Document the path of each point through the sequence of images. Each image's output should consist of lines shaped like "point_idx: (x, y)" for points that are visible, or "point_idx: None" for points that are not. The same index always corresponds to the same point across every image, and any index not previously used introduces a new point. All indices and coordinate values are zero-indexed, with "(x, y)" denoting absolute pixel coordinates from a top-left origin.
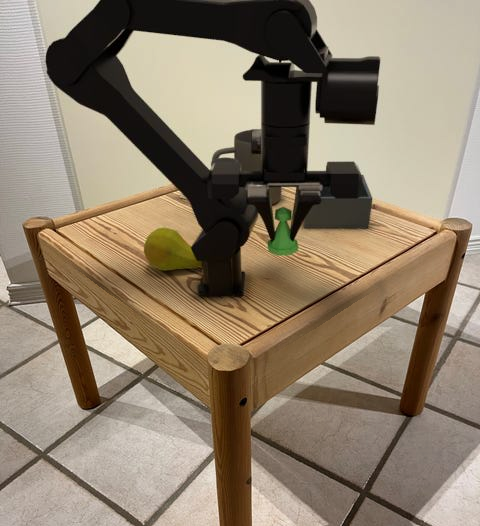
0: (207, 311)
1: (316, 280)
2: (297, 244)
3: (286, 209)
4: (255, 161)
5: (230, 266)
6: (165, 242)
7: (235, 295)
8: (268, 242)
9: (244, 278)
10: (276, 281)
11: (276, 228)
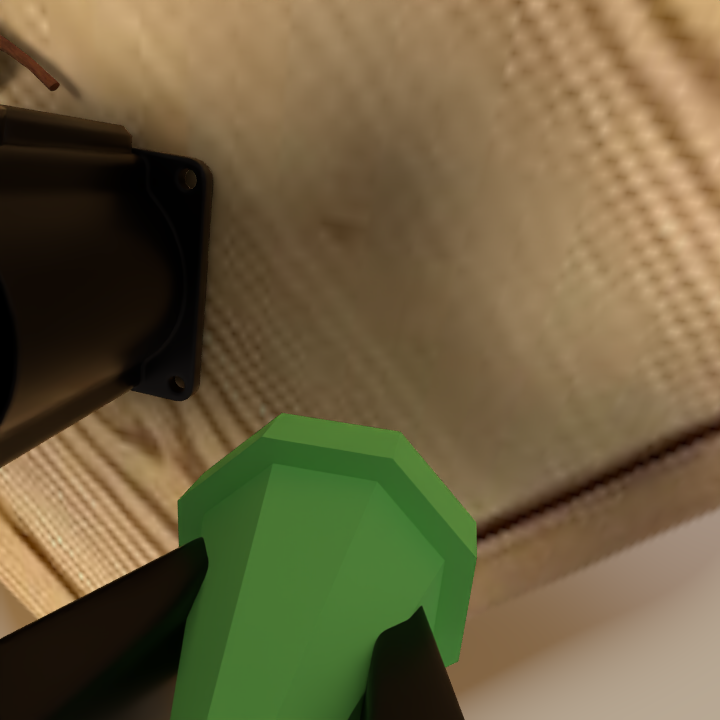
0: (58, 458)
1: (636, 300)
2: (457, 636)
3: None
4: None
5: (14, 459)
6: None
7: (158, 394)
8: (182, 532)
9: (200, 248)
10: (388, 268)
11: (178, 677)
